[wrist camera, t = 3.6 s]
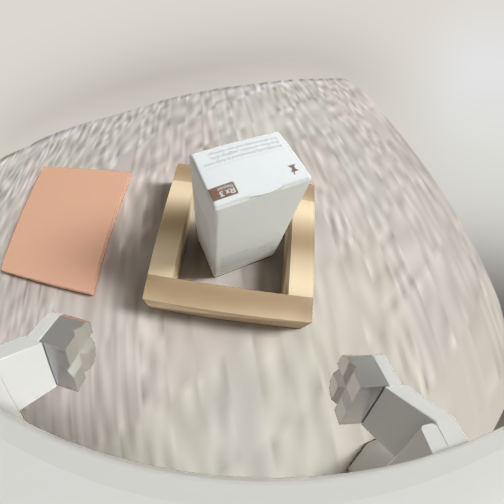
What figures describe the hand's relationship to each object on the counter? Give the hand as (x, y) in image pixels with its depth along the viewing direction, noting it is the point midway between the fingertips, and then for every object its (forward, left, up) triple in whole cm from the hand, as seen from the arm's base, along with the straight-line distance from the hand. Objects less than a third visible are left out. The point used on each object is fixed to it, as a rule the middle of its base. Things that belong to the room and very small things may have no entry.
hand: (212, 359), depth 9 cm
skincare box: (+11, -1, -15) cm, 19 cm away
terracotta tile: (+11, +17, -15) cm, 26 cm away
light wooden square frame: (+11, -1, -15) cm, 19 cm away
